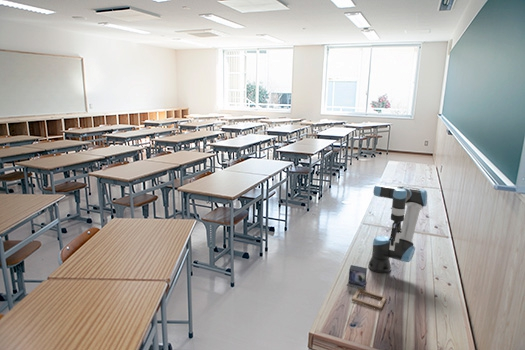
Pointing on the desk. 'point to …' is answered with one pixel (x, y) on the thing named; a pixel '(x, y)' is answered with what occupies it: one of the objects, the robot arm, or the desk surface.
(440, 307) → the desk surface
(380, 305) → the wooden frame
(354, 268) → the small box
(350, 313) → the desk surface
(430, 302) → the desk surface
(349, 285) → the mat
